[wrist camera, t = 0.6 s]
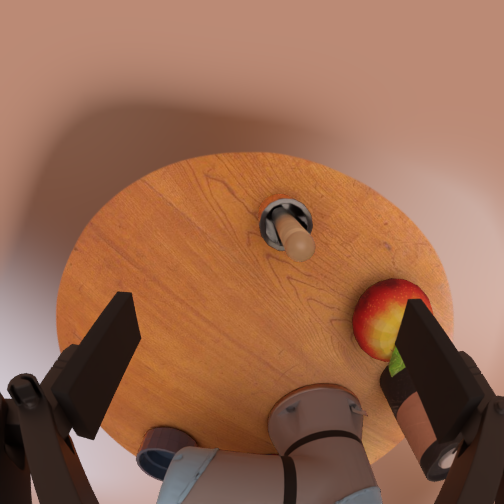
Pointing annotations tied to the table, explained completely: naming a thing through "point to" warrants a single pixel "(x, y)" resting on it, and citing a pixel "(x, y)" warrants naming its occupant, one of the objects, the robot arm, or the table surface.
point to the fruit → (384, 319)
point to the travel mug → (417, 425)
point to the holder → (268, 225)
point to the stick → (293, 236)
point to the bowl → (161, 450)
